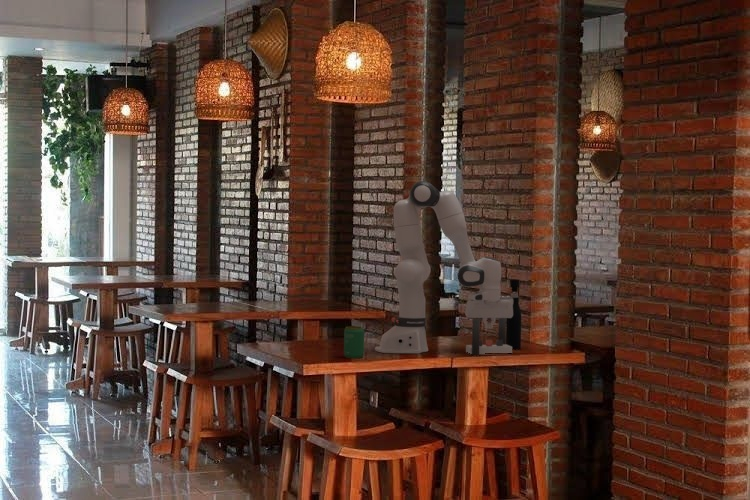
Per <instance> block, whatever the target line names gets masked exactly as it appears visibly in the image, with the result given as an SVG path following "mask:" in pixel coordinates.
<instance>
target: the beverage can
mask: <svg viewBox="0 0 750 500" xmlns="http://www.w3.org/2000/svg"><path fill="white" fill-rule="evenodd" d="M343 336H344V337H343V356H344V358H347V359H362V358H364V357H363V356H364V355H365V354H364V353H365V330H364V328H363V327H362V326H355V325H354V326H345V328H344V332H343Z"/></svg>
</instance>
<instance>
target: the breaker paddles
mask: <svg viewBox="0 0 750 500" xmlns="http://www.w3.org/2000/svg"><path fill="white" fill-rule="evenodd" d="M495 341H496V342H495V345H496V346H503V340H498V339H496V340H495ZM482 345H483V340H482V339H480V340H479V346H482ZM485 345H486V346H492V345H493V339H486V340H485Z"/></svg>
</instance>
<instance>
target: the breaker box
mask: <svg viewBox="0 0 750 500" xmlns="http://www.w3.org/2000/svg"><path fill="white" fill-rule="evenodd" d="M467 352H468V353H467ZM465 353H467V354H469V353H470V354H469V355H471V354H472V344H466V345H465ZM485 353H512V354H513V350H512V346H509V345H506V344H505V345H503V346H496V344H492V346H486V344H482V346H479V355H486V354H485Z"/></svg>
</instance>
